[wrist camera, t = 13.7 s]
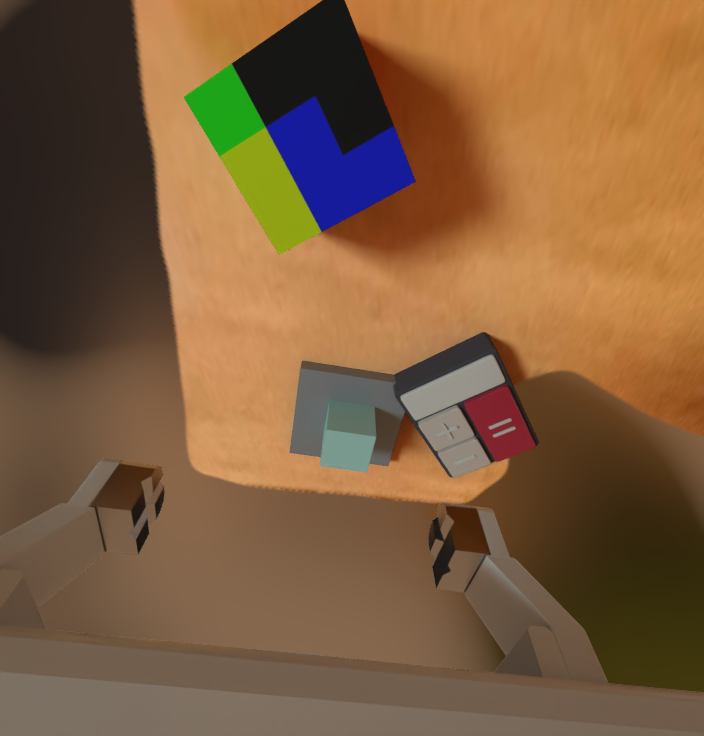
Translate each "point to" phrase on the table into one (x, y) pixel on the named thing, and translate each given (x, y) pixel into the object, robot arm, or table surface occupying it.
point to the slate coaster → (346, 387)
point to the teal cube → (348, 436)
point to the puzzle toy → (304, 127)
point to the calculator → (465, 406)
